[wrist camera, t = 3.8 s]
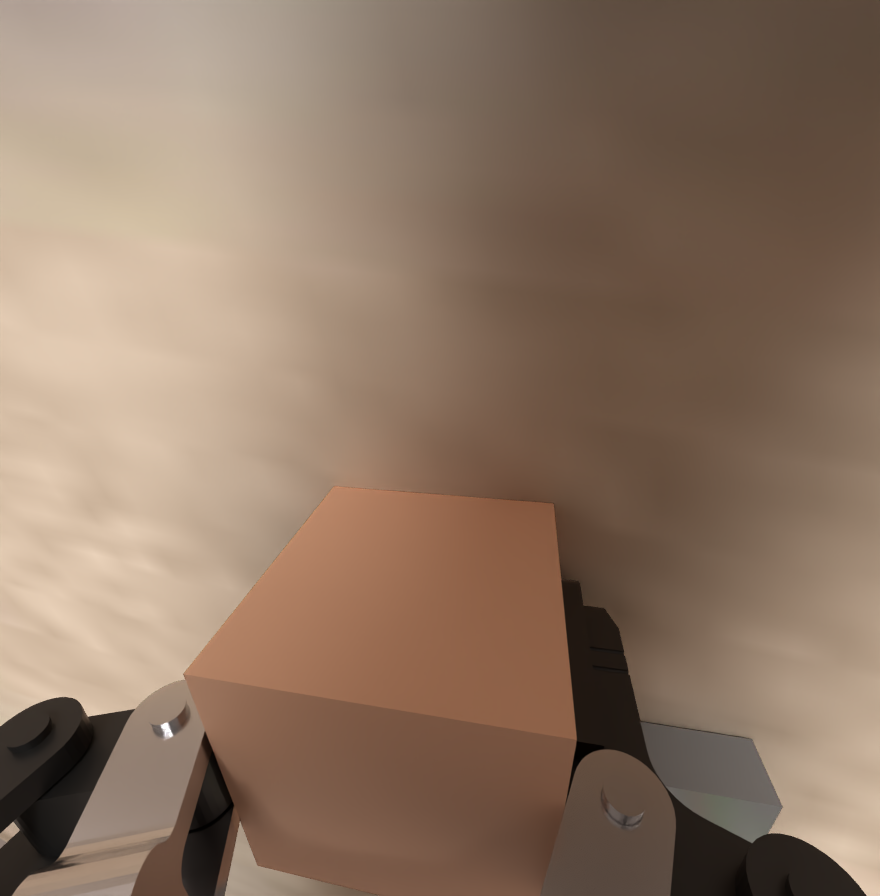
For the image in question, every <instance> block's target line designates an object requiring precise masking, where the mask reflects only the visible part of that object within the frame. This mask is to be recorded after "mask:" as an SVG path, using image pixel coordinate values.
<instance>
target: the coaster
mask: <svg viewBox="0 0 880 896" xmlns="http://www.w3.org/2000/svg"><path fill="white" fill-rule="evenodd" d="M641 726H642V731H643V735H644V739H645V743H646V748H647V752H648V755H649V758H650V761H651V763H652V766H653V768H654V770H655V771H656V773H657V775H658V776H659V778H660V780H661V781H662V782H663V784H664V785H665V786H666V788H667V789H668V790H669V791H670V792H671V793H672V794H673V795H674V796H675V797H676V798H677V799H678V800H679V801H680V802H681V803H682V804H683V805H685V806H686V807H687V808H689V809H690V810H692V811H693V812H694V813H696V814H698V815H699V816H701V817H703V818H705V819H707V820H708V821H710V822H712V823H714V824H716V825H718V826H720V827H722V828H724V829H726V830H728V831H730V832H732V833H734V834H735V835H737V836H739V837H741V838H743V839H745V840H747V841H749V842H751V843H753V842H754V841H755V840H756V839H757V838H759V837H761V836H763V835H766V834H768V832H769V831H770V829H771V827H772V825H773V823H774V822H775V820H776V818H777V816H778V814H779V813H780V811H781V809H782V805H781V803H780V800H779V798H778V796H777V794H776V791H775V789H774V787H773V785H772V783H771V780H770V778H769V776H768V774H767V772H766V769H765V767H764V765H763V763H762V760H761V758H760V756H759V754H758V752H757V749H756V747H755V745H754V743H753V740H752V739H747V738H741V737H735V736H728V735H722V734H715V733H709V732H703V731H696V730H690V729H684V728H677V727H671V726H665V725H658V724H652V723H646V722H641Z"/></svg>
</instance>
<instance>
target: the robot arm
mask: <svg viewBox="0 0 880 896" xmlns="http://www.w3.org/2000/svg"><path fill="white" fill-rule="evenodd" d="M561 583H562V593H563V603H564V613H565V623H566V634H567V644H568V654H569V664H570V674H571V685H572V695H573V705H574V715H575V725H576V736H577V742H576V748H575V753H574V759H573V765H572V770H571V776H570V781H569V787H568V793H567V798H566V804H565V809H564V813H563V816H562V820H561V823H560V827H559V830H558V834H557V838H556V841H555V845H554V848H553V852H552V855H551V859H550V862H549V866H548V869H547V873H546V876H545V880H544V883H543V887H542V891H541V894H540V896H866V894H865V893H864V892H863V890H862V889H861V888H860V887H859V885H858V884H857V883H856V882H855V881H854V880H853V879H852V878H851V876H850V875H849V874H848V873H847V872H846V871H845V870H844V869H843V868H842V867H840V866H839V865H838V864H837V863H836V862H835V861H834V860H832V859H831V858H830V857H829V856H827V855H826V854H825V853H823V852H822V851H820V850H819V849H817V848H816V847H814V846H812V845H810V844H809V843H807V842H805V841H803V840H800V839H798V838H795V837H792V836H789V835H784V834H772V833H771V834H766V835H763V836H761V837H759V838H757V839H756V840H755V841H754V842H753V843H751V842H749V841H747V840H745V839H743V838H741V837H739V836H737V835H735V834H734V833H732V832H730V831H728V830H726V829H724V828H722V827H720V826H718V825H716V824H714V823H712V822H710V821H708V820H707V819H705V818H703V817H701V816H699V815H698V814H696V813H694V812H693V811H692V810H690V809H689V808H687V807H686V806H685V805H683V804H682V803H681V802H680V801H679V800H678V799H677V798H676V797H675V796H674V795H673V794H672V793H671V792H670V791H669V790H668V789H667V788H666V786H665V785H664V784H663V782H662V781H661V780H660V778H659V776H658V775H657V773H656V771H655V770H654V768H653V766H652V763H651V761H650V758H649V755H648V752H647V748H646V743H645V739H644V735H643V731H642V726H641V722H640V718H639V713H638V709H637V705H636V701H635V696H634V692H633V688H632V684H631V679H630V675H628V667H627V662H626V658H625V656H624V650H623V645H622V641H621V637H620V632H619V628H618V627H617V626H616V624H615V623H614V622H613V620H612V619H611V617H610V616H609V615H608V613H607V612H606V610H605V609H604V608H598V607H589V606H583V600H582V594H581V587H580V583H579V581H575V580H566V579H561ZM12 822H14V823H15V824H16V826H17V827H18V828H19V829H20V831H19V832H18V833H17V834H16V835H15V836H14V837H12V838H11V839H10V840H9V841H8V842H7V843H6V844H5V845H4V846H3V847H2V848H1V849H0V896H225V891H226V886H227V881H228V876H229V871H230V866H231V861H232V857H233V852H234V847H235V842H236V837H237V832H238V827H239V822H240V819H239V816H238V814H237V811H236V809H235V806H234V803H233V801H232V798H231V796H230V793H229V791H228V788H227V785H226V783H225V780H224V778H223V775H222V773H221V770H220V767H219V765H218V762H217V760H216V757H215V755H214V752H213V749H212V747H211V744H210V742H209V739H208V737H207V734H206V731H205V729H204V726H203V724H202V721H201V719H200V716H199V713H198V711H197V708H196V706H195V703H194V700H193V698H192V695H191V693H190V690H189V688H188V685H187V682H186V680H181V681H177V682H174V683H171V684H168V685H166V686H164V687H162V688H160V689H159V690H157V691H155V692H154V693H152V694H151V695H150V696H148V697H147V698H146V699H145V700H144V701H143V702H141V703H140V705H139V706H138V707H137V708H136V709H133V710H127V711H121V712H115V713H108V714H102V715H96V716H90V717H88V716H87V715H86V713H85V711H84V709H83V707H82V706H81V704H80V703H79V702H78V701H77V700H75V699H73V698H68V697H59V698H53V699H49V700H46V701H43V702H40V703H38V704H35V705H33V706H31V707H29V708H27V709H25V710H24V711H22V712H20V713H19V714H17V715H16V716H14V717H13V718H11V719H10V720H8V721H7V722H6V723H4V724H3V725H2V726H0V833H1V832H2V831H3V830H4V829H5V828H6V827H8V826H9V825H10V824H11V823H12Z"/></svg>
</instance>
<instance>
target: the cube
mask: <svg viewBox="0 0 880 896" xmlns="http://www.w3.org/2000/svg"><path fill="white" fill-rule="evenodd" d="M183 675H184V677H185V680H186V682H187V685H188V688H189V690H190V693H191V695H192V698H193V700H194V703H195V706H196V708H197V711H198V713H199V716H200V719H201V721H202V724H203V726H204V729H205V731H206V734H207V737H208V739H209V742H210V744H211V747H212V749H213V752H214V755H215V757H216V760H217V762H218V765H219V767H220V770H221V773H222V775H223V778H224V780H225V783H226V785H227V788H228V791H229V793H230V796H231V798H232V801H233V803H234V806H235V809H236V811H237V814H238V816H239V819H240V821H241V824H242V827H243V829H244V832H245V834H246V837H247V840H248V842H249V845H250V847H251V850H252V852H253V855H254V858H255V860H256V863H257V865H258V866H261V867H265V868H270V869H274V870H278V871H282V872H286V873H290V874H294V875H298V876H302V877H306V878H310V879H315V880H319V881H323V882H327V883H331V884H335V885H339V886H343V887H347V888H351V889H355V890H360V891H364V892H368V893H372V894H376V895H380V896H540V894H541V891H542V887H543V883H544V880H545V876H546V873H547V869H548V866H549V862H550V859H551V855H552V852H553V848H554V845H555V841H556V838H557V834H558V830H559V827H560V823H561V820H562V816H563V813H564V809H565V804H566V798H567V793H568V787H569V781H570V776H571V770H572V765H573V759H574V753H575V748H576V742H577V736H576V725H575V715H574V705H573V695H572V685H571V674H570V664H569V654H568V644H567V634H566V623H565V613H564V603H563V593H562V583H561V572H560V562H559V552H558V542H557V532H556V521H555V511H554V503H543V502H530V501H517V500H504V499H491V498H478V497H465V496H453V495H440V494H427V493H414V492H401V491H388V490H375V489H362V488H349V487H337V486H334V487H333V488H332V489H331V491H330V492H329V493H328V494H327V496H326V497H325V498H324V499H323V501H322V502H321V503H320V504H319V506H318V507H317V508H316V509H315V511H314V512H313V513H312V514H311V516H310V517H309V518H308V519H307V521H306V522H305V523H304V524H303V526H302V527H301V528H300V529H299V531H298V532H297V533H296V534H295V536H294V537H293V538H292V539H291V540H290V542H289V543H288V544H287V545H286V547H285V548H284V549H283V550H282V552H281V553H280V554H279V555H278V557H277V558H276V559H275V560H274V562H273V563H272V564H271V565H270V567H269V568H268V569H267V570H266V572H265V573H264V574H263V575H262V577H261V578H260V579H259V580H258V582H257V583H256V584H255V585H254V587H253V588H252V589H251V590H250V592H249V593H248V594H247V595H246V597H245V598H244V599H243V600H242V602H241V603H240V604H239V605H238V607H237V608H236V609H235V610H234V612H233V613H232V614H231V615H230V617H229V618H228V619H227V620H226V621H225V623H224V624H223V625H222V626H221V628H220V629H219V630H218V631H217V633H216V634H215V635H214V636H213V638H212V639H211V640H210V641H209V643H208V644H207V645H206V646H205V648H204V649H203V650H202V651H201V653H200V654H199V655H198V656H197V658H196V659H195V660H194V661H193V663H192V664H191V665H190V666H189V668H188V669H187V670H186V671H185V673H184V674H183Z"/></svg>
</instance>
